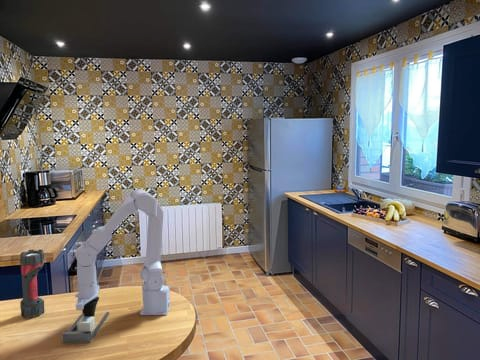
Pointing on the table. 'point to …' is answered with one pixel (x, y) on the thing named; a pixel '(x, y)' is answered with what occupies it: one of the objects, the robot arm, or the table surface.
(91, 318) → the block
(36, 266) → the flashlight
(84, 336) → the rail
